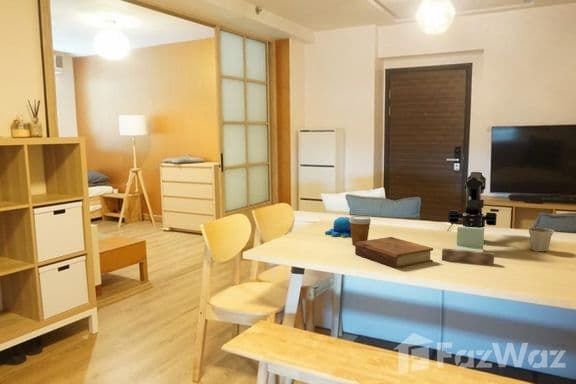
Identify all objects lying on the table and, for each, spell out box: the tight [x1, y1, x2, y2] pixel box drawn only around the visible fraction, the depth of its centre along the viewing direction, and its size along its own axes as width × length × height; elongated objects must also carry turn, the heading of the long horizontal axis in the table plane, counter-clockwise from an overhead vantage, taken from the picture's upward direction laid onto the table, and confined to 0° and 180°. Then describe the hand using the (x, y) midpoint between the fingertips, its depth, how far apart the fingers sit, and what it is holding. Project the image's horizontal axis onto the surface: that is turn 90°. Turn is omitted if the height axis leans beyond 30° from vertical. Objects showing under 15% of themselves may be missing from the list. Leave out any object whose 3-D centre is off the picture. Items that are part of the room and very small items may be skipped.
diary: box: [354, 236, 434, 269], centre depth 178 cm, size 23×19×6 cm
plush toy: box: [324, 216, 351, 239], centre depth 223 cm, size 17×17×8 cm
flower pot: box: [527, 227, 555, 252], centre depth 188 cm, size 9×9×9 cm
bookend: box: [455, 225, 485, 252], centre depth 183 cm, size 12×10×10 cm
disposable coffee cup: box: [349, 215, 372, 246], centre depth 200 cm, size 10×10×12 cm
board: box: [441, 247, 495, 266], centre depth 172 cm, size 18×2×4 cm, turn 66°
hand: (470, 234), depth 189 cm, fingers closed
